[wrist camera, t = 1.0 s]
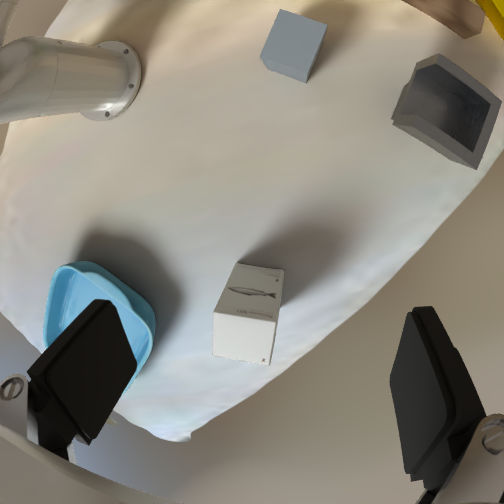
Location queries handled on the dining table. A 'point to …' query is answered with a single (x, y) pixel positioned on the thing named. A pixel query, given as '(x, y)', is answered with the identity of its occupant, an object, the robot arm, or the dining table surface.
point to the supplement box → (248, 314)
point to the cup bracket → (447, 110)
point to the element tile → (494, 13)
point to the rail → (453, 14)
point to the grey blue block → (293, 45)
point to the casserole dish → (98, 287)
